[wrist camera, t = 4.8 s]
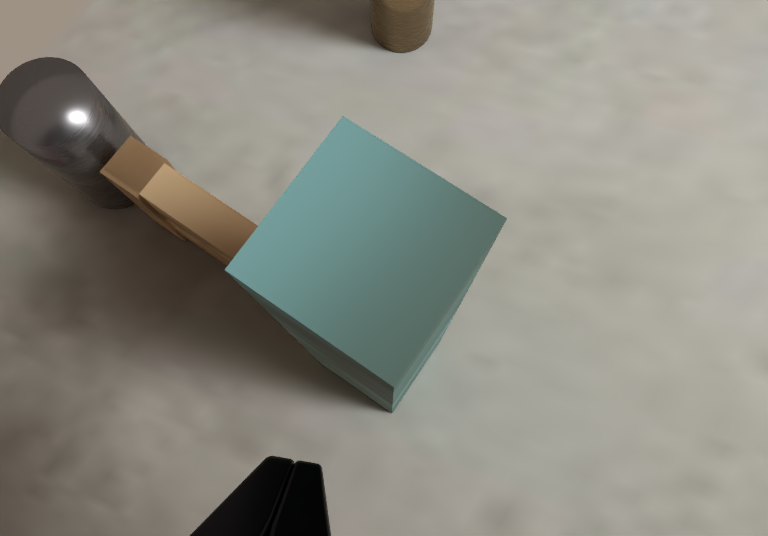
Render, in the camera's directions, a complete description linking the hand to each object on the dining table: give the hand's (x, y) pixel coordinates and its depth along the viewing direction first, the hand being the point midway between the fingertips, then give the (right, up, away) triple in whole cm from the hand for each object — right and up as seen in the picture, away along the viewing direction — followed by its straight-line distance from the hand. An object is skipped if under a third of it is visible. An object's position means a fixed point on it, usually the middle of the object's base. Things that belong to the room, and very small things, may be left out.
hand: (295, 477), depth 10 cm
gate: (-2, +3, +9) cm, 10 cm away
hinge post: (-7, +6, +10) cm, 14 cm away
